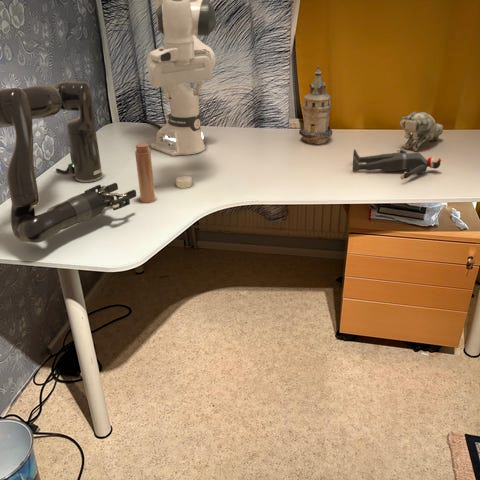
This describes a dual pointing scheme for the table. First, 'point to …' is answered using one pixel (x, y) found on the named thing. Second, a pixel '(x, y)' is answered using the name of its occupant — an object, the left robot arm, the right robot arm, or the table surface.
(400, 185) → the table surface
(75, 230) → the table surface
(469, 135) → the table surface
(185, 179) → the lid
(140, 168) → the tan tall cylinder
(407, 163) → the toy
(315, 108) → the miniature building
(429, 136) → the figurine
